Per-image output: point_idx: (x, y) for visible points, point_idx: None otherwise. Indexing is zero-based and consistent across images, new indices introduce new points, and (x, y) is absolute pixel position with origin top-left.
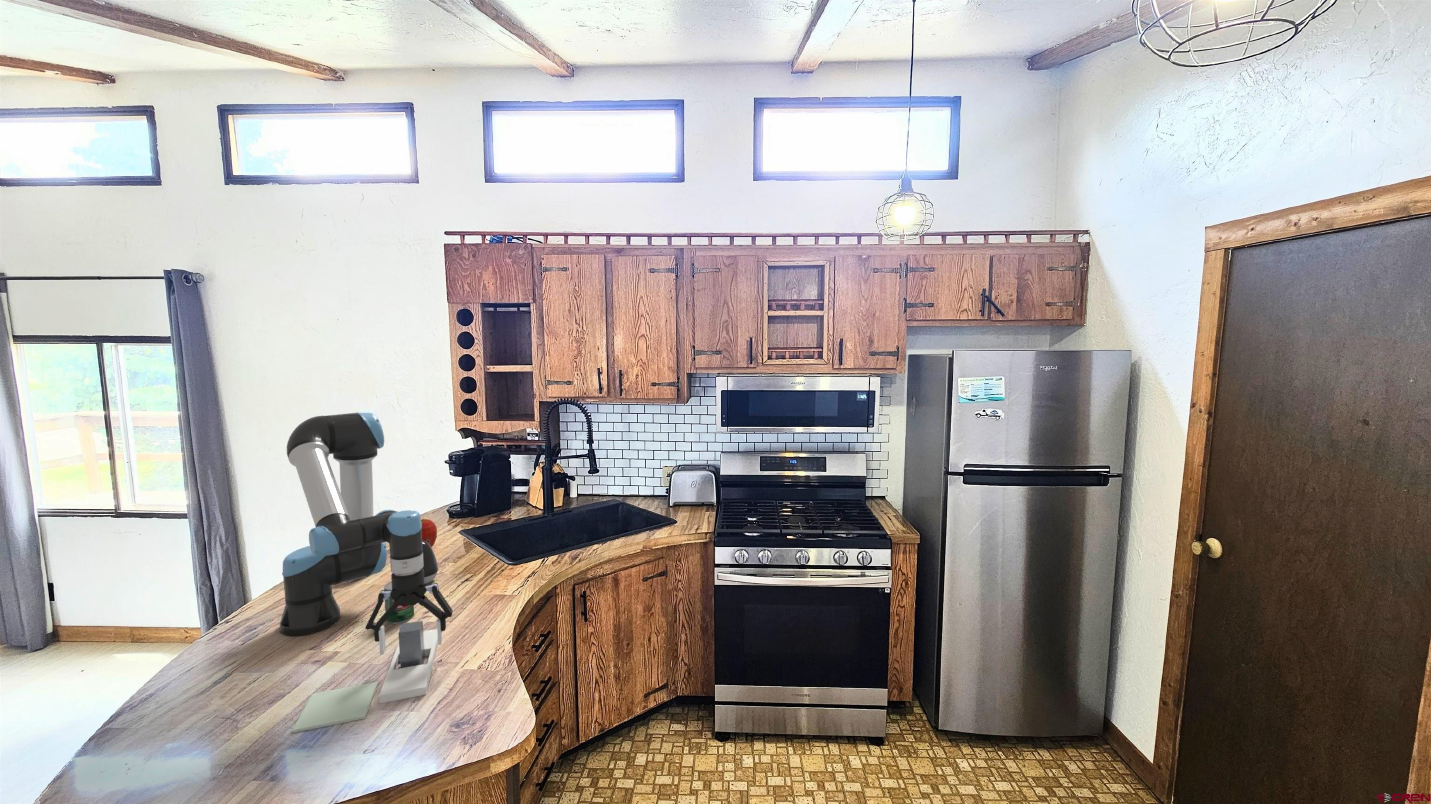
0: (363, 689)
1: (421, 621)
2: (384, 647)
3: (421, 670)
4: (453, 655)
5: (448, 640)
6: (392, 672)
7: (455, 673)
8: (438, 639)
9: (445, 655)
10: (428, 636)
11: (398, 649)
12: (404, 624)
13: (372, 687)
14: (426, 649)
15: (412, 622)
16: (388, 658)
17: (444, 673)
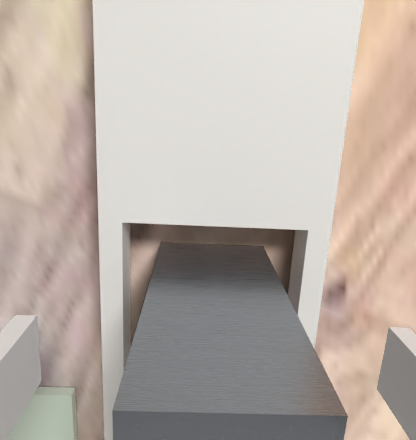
0: (22, 433)
1: (333, 426)
2: (26, 362)
3: None
4: (402, 265)
5: (394, 70)
6: None
7: (393, 420)
8: (401, 420)
9: (364, 249)
10: (290, 50)
11: (111, 166)
12: (146, 436)
13: (58, 431)
14: (280, 228)
15: (233, 418)
16: (66, 159)
17: (349, 404)
